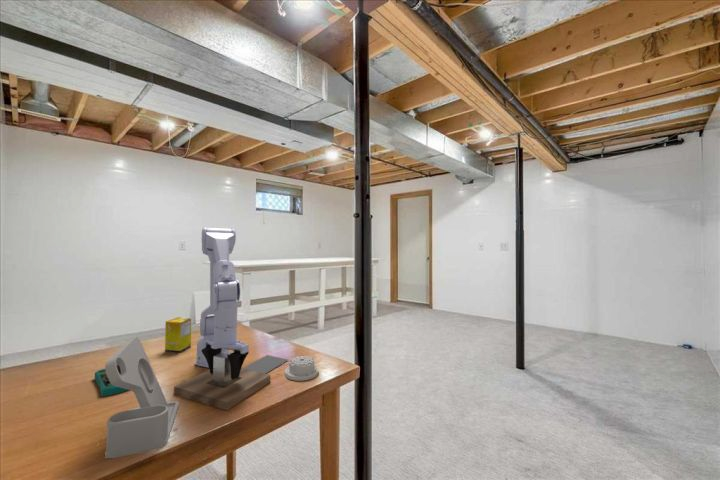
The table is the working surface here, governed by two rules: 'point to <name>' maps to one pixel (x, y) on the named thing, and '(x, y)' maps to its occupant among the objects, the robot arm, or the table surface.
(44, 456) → the table surface
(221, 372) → the alloy block
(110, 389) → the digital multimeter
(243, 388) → the pocket board
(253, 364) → the rubber mat
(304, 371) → the mechanical component
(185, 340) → the supplement box
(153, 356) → the table surface
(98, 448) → the table surface
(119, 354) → the phone holder
